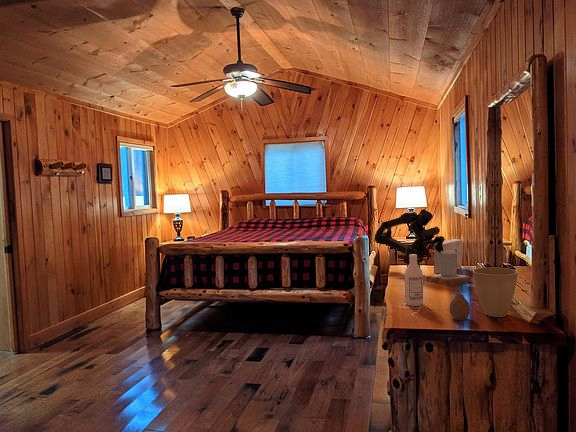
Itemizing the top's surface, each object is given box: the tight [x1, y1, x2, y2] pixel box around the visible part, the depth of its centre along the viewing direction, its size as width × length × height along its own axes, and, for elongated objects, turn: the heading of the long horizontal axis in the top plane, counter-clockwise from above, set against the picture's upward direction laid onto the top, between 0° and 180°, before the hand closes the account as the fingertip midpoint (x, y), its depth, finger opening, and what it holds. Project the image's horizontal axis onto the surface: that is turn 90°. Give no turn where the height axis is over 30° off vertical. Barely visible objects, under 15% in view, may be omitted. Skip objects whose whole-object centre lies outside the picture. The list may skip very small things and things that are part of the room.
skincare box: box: [433, 238, 463, 274], centre depth 253 cm, size 21×6×16 cm, turn 132°
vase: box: [449, 293, 471, 321], centre depth 168 cm, size 7×7×9 cm
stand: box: [426, 273, 472, 287], centre depth 228 cm, size 14×14×3 cm
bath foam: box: [404, 254, 424, 307], centre depth 189 cm, size 7×7×20 cm
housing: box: [441, 250, 458, 277], centre depth 227 cm, size 5×5×12 cm
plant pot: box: [472, 267, 519, 318], centre depth 171 cm, size 15×15×16 cm
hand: (437, 256), depth 233 cm, fingers open, 9 cm apart
